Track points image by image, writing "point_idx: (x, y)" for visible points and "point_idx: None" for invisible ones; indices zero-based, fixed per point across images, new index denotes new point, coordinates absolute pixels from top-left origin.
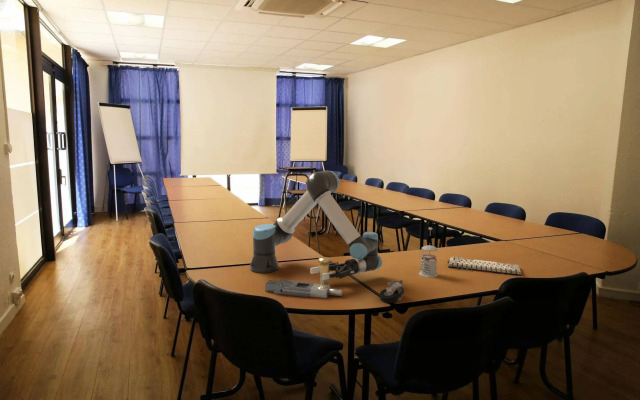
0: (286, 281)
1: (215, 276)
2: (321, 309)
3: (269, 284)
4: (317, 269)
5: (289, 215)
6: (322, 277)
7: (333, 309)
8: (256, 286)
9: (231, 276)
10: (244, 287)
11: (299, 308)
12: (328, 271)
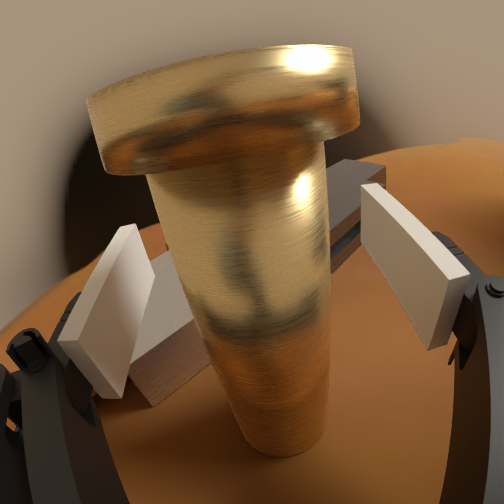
0: (354, 193)
1: (480, 149)
2: (56, 283)
3: (335, 165)
4: (397, 253)
5: None
6: (144, 258)
7: (21, 312)
8: (402, 179)
9: (489, 161)
10: (395, 165)
11: None
12: (196, 321)
